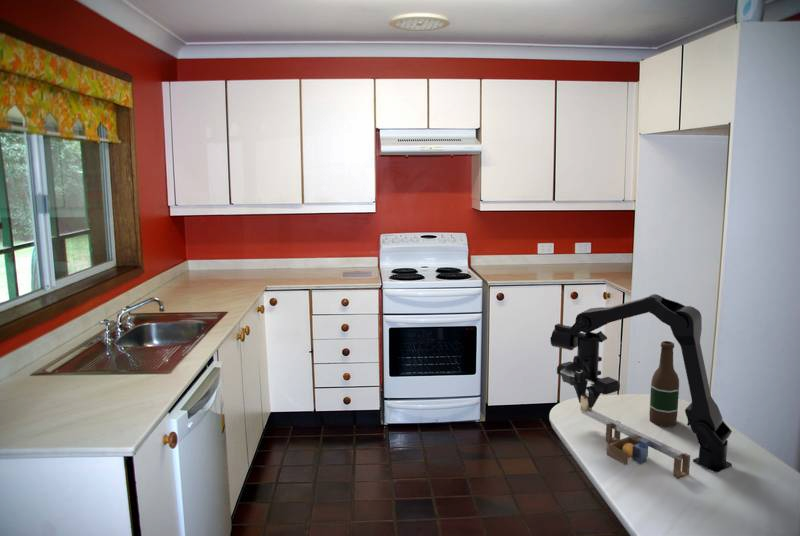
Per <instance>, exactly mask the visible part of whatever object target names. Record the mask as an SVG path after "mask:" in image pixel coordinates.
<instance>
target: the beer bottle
mask: <svg viewBox="0 0 800 536" xmlns="http://www.w3.org/2000/svg"><path fill="white" fill-rule="evenodd" d="M674 348H675V343H674V342H672V341H668V340H663V341H661V343H660V349H661V350H660V357H659V365H658V367H657V369H656V370H655V371H654V373H653V375H652V378H651V383H650V397H649V422H651V423H652V424H654V425H655V426H660V427H666V428H670V427H674V426H676V425H677V422H678V421H677V420H678V419H677V418H678V411H679V410H678V409H679V398H680V397H679V393H680V378H679V375H678V374H677V372H676V371H675V366H674Z"/></svg>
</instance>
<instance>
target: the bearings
mask: <svg viewBox="0 0 800 536" xmlns="http://www.w3.org/2000/svg"><path fill="white" fill-rule="evenodd" d="M616 421H617V422H619V423H621V424H622V422H621V421H619V420H616ZM605 427H606V428H605V431H606V432H605V442H606V443H608V444H610V443H613V442H615V441H618V440H621V432H619V431H617V430H615V429H613V425H611V424H609V423H608V424H606V425H605ZM613 430H614V431H613ZM613 433H614V434H613ZM690 463H691V455H690V454H688V453H686V452H683V459H681V458H679V457H674V458H673V473H672V474H673V475H672V477H674V478H676V479H678V480H680V479H682V478H684V477H685V476H688V475H690Z"/></svg>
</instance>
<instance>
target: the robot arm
mask: <svg viewBox="0 0 800 536" xmlns="http://www.w3.org/2000/svg"><path fill="white" fill-rule="evenodd" d="M648 313H650V314H652V315H653V316H655V317H656V318H657V319H658V320H659V321H660V322H661V323H663V324H666V325H667V326H669V327H670V330H671V333H672V335H673V337H674V339H675V340H676V341H677V343H678V345H679V346H680V349H681V354H682V359H683V364H684V368H685V373H686V379H687V384H688V388H689V393H690V397H691V403H690V404H689V405H688V406H687V407H686V408H685V409H684V412H685V416H686V419H687V423H686V424H687V426H689V427H690V429H691V431H692V433H693V434H695V436H696V439H697V442H698V445H699V449H698V456H697V457H695V458H694V459H692V460H693V463H695V464H697V465H699V466H701V467H704V468H706V469H707V470H710V471H711V472H713V473H720V472H722V471H723V470H726V469H728V468H731V467H732V466H733V464H732V463H731V462H729V461H727V455H728V445H729V444H728V443H729V440H728V439H729V438H730V436H731V434H732V432H733V431H732V429H731V428H730V427H729V426H728V425H727V424H726V422H725V421H724V420H723V416H722V413H721V411H720V409H719V407H718V404H717V403H716V402H715V400H714V398H713V397H712V395H711V390H710V384H709V380H708V376H707V375H708V374H707V370H706V367H705V365H706V364H705V361H704V356H703V351H702V347H701V336H702V329H703V327H702V326H703V325H702V324H703V323H702V314H701V311H699V309H697V308H695V307H693V306H691V305H690V306H689V305H684V304H682V303H680V302H677V301H675V300H672V299H667V298H665V297H664V296H661V295H659V294H651V295H648V296H647V297H646V296H645V297H642V298H639V299H635V300H632V301H628V302H625V303H620V304H618V305H613V306H610V307H605V306H604V307H591V308H588V309H585V310H584V311H582V312H580V313H578V314H577V315H576V318H575V321H574V323H573V325H572V326H569V325H565V324H562V323H557V324H555V325H554V329H553V330H552V333H551V336H550V344H551V346H552V347H554V348H559V349H564V350H567V351H574V349H575V348H577V352H576V353H577V355H574V357H573V359H572V361H566V362H563V363H559V364H558V366H557V367H556V374H557V375H559V376H561V379H562V381H563V382H564V383H566V384H569V385H570V386H573V388H574V390H575V393H576V396H577V399H578V402H579V404H581V394H582V393H587V392H588V393H589V408H592V409H593V408H594V406H595V404H596V402H597V400H598V399H599V397H600V395H601V394H602V395H609V394H612V393H616V392H618V391H619V392H620V389H621V388H620V387H621V385H620V384H621V383H620V381H619V380H617V379H614V378H612V377H609V376H606V377H603V378H602V377H598V376H601V375H602V371H601V370H599V362H602V361H603V359H602V358H603V357H602V356H599V355H600V354H599V353H600V343H603V342H604V341H607V340H608V337H607V336H606V335H605V334H604V332H602V330H599V331H597V332H593V331H595V330H598V329H600V328H601V327H603V326H605V325H608V324H610V323H612V322H617V321H620V320H624V319H628V318H632V317H636V316H640V315H644V314H648ZM588 382H590V386H588Z"/></svg>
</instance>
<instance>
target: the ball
mask: <svg viewBox="0 0 800 536" xmlns="http://www.w3.org/2000/svg"><path fill="white" fill-rule="evenodd" d="M622 451H624V452H626V453H628V459H629V458H630V459H633V444H631V443H627V444H625V445H624V446H623V447H622Z"/></svg>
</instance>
